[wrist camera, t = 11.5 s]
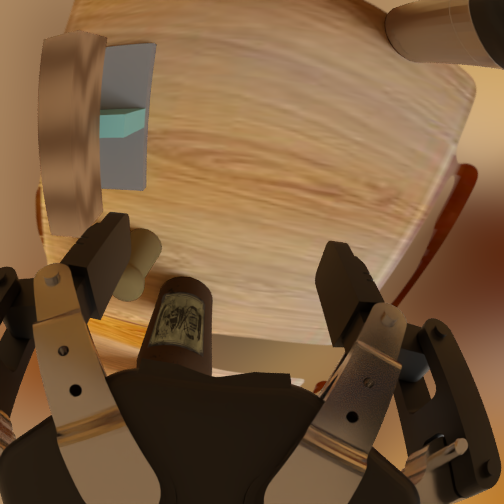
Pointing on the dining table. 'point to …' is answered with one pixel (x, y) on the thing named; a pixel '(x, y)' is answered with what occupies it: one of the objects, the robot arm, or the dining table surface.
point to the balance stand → (125, 115)
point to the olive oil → (181, 326)
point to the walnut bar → (71, 130)
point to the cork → (138, 264)
